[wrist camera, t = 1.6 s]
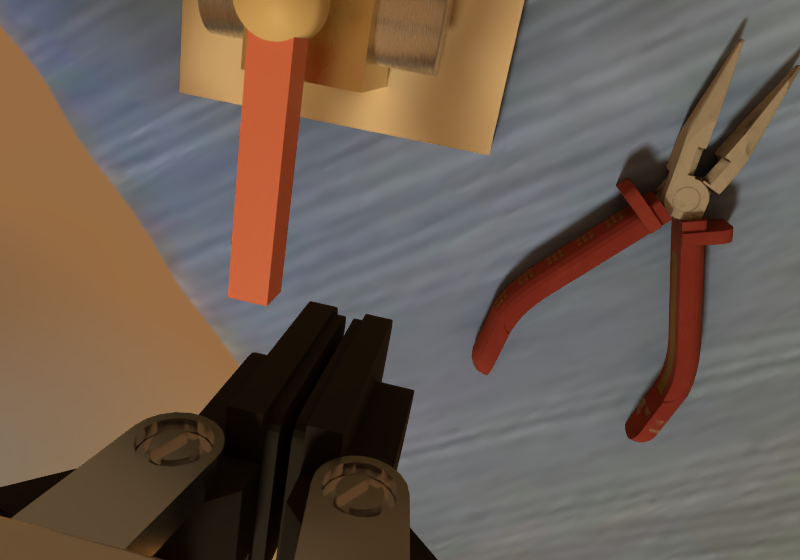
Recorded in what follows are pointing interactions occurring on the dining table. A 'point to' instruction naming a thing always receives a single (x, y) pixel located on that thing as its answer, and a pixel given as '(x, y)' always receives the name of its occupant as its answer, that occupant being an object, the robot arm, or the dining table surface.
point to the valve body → (358, 39)
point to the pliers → (634, 222)
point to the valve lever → (269, 139)
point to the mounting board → (406, 91)
